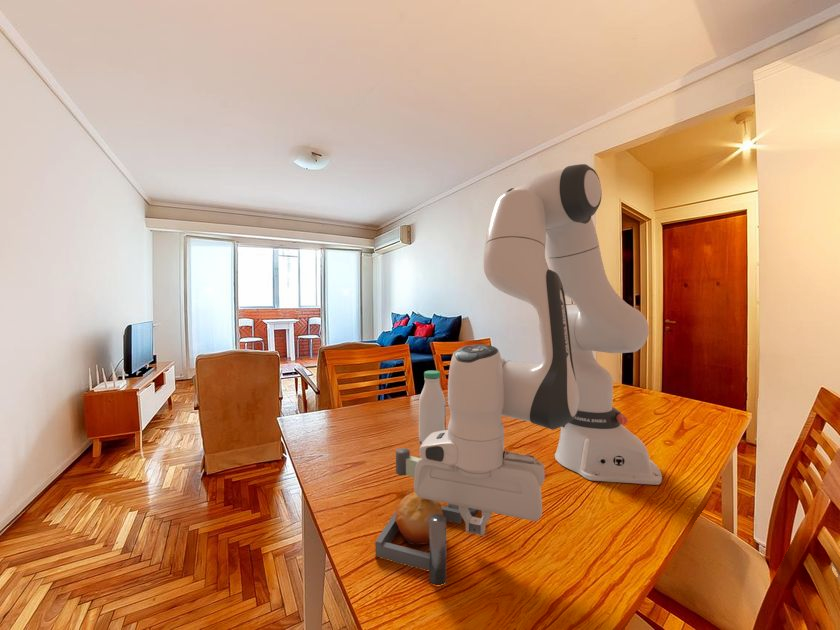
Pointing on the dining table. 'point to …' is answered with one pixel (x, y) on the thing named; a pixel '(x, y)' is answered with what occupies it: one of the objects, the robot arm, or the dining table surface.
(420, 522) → the fruit
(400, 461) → the gate
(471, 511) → the base
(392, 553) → the gray frame
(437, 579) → the post
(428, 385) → the milk bottle
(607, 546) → the dining table surface
